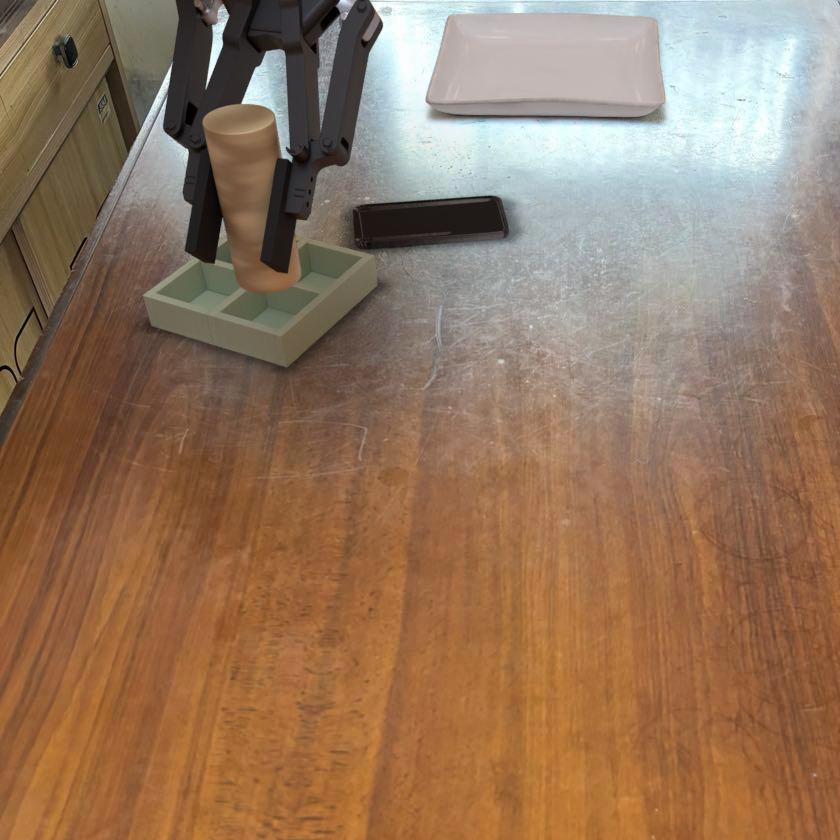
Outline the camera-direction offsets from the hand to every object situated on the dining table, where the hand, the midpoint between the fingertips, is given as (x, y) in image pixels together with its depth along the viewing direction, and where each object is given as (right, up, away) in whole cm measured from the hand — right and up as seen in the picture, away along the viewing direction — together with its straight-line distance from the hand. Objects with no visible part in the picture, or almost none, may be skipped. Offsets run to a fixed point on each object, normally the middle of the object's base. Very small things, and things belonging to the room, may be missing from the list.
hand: (236, 261), depth 70 cm
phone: (+8, +13, +39) cm, 42 cm away
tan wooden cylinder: (+1, 0, +5) cm, 5 cm away
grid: (-5, +3, +29) cm, 30 cm away
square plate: (+20, +38, +66) cm, 79 cm away
